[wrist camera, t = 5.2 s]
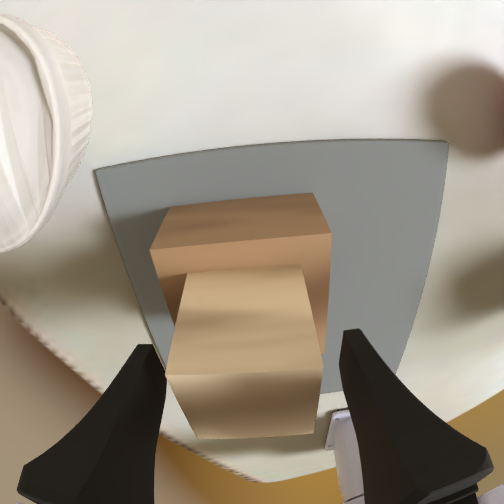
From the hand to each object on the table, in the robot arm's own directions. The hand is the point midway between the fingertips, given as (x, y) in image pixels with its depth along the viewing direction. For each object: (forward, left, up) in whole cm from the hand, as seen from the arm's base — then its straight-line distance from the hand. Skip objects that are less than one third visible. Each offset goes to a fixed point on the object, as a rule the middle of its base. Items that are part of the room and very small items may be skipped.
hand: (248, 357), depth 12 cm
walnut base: (0, 0, -7) cm, 7 cm away
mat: (-4, -2, -7) cm, 8 cm away
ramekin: (+10, +11, -7) cm, 17 cm away
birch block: (0, 0, -3) cm, 3 cm away
